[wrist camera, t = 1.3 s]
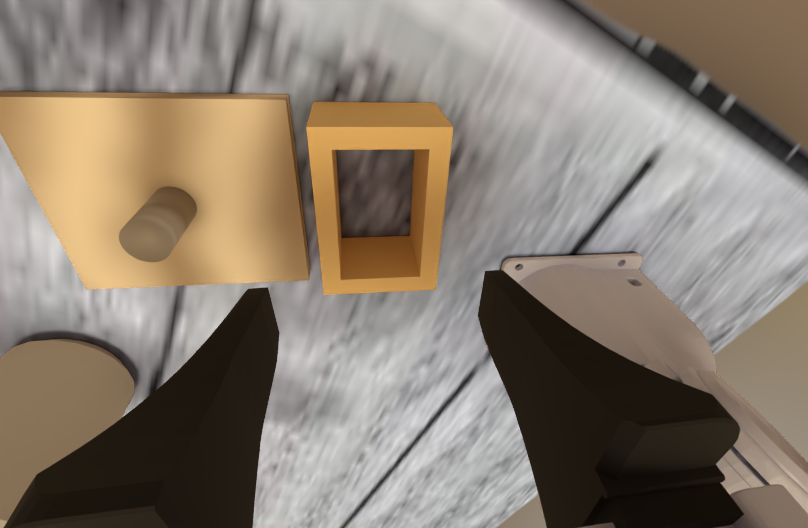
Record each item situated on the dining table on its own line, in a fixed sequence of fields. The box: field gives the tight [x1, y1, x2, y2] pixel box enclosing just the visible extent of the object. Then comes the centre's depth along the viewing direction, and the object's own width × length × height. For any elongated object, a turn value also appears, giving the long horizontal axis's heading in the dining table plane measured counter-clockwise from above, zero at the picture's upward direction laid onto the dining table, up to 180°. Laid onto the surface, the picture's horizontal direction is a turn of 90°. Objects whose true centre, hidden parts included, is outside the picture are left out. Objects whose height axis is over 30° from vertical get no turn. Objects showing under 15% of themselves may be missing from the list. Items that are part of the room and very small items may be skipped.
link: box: [306, 102, 453, 295], centre depth 20 cm, size 6×8×4 cm
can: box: [0, 339, 135, 528], centre depth 22 cm, size 8×8×12 cm
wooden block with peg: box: [0, 91, 310, 289], centre depth 18 cm, size 12×10×4 cm
